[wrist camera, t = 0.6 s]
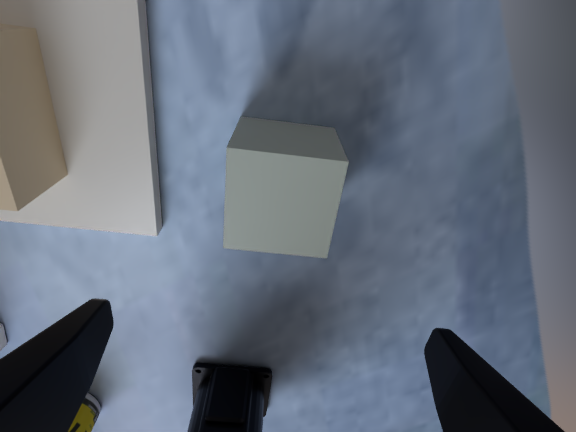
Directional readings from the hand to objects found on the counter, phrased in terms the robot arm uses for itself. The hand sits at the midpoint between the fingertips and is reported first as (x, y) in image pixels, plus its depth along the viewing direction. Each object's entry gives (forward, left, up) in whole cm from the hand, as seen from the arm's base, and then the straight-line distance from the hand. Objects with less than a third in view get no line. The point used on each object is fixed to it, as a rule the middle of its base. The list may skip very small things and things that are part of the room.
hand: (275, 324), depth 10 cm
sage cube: (0, 0, -12) cm, 12 cm away
